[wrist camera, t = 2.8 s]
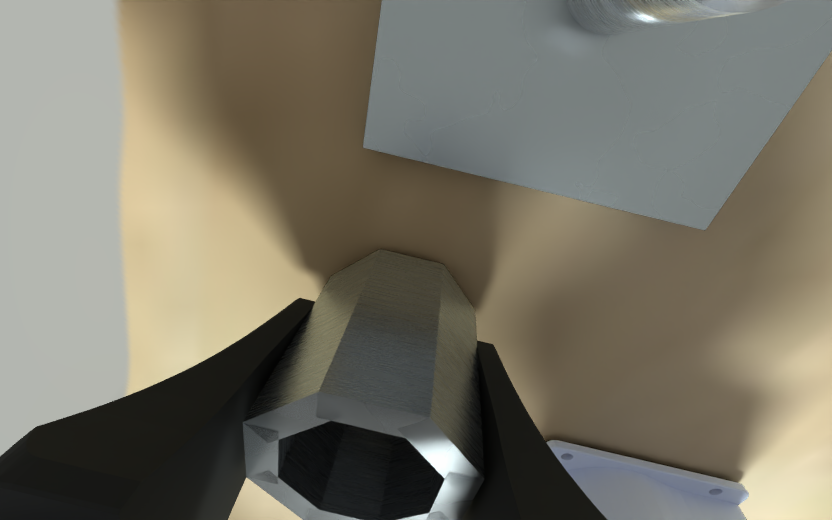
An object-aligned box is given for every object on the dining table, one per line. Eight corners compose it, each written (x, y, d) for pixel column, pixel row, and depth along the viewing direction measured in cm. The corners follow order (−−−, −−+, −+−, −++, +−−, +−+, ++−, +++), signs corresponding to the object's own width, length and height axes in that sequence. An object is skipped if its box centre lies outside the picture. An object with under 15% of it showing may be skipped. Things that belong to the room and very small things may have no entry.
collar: (488, 275, 12) (509, 437, 7) (448, 380, 15) (441, 553, 10) (335, 238, 12) (238, 372, 7) (323, 350, 15) (248, 508, 10)
